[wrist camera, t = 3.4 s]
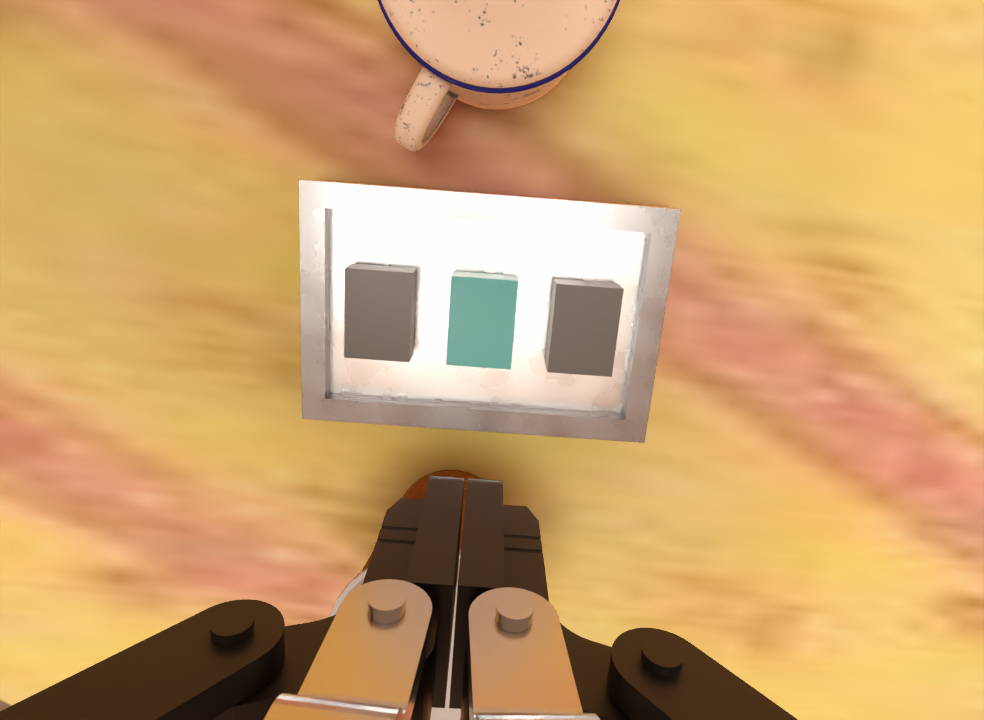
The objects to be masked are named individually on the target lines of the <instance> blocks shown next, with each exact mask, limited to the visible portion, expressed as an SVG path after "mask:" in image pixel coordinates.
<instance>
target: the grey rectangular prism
mask: <svg viewBox="0 0 984 720" xmlns="http://www.w3.org/2000/svg"><path fill="white" fill-rule="evenodd" d="M416 279H417V268H407V267H393V266H380V265H366V264H353V263H352V264H350V265H349V266H347V267H345V302H344V358H356V359H370V360H384V361H398V362H410V360H411V358H412V356H413V353H414V328H415V303H416Z"/></svg>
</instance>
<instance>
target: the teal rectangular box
mask: <svg viewBox="0 0 984 720" xmlns="http://www.w3.org/2000/svg"><path fill="white" fill-rule="evenodd" d="M518 283H519V280H518V276H513V275H500V274H487V273H473V272H460V271H453V273H452V275H451V285H450V303H449V321H448V339H447V357H446V365H453V366H467V367H481V368H495V369H509V370H511V363H512V352H513V340H514V329H515V317H516V306H517V295H518Z"/></svg>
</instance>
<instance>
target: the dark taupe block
mask: <svg viewBox="0 0 984 720" xmlns="http://www.w3.org/2000/svg"><path fill="white" fill-rule="evenodd" d="M623 292H624V288H622V287H621V286H620V285H619V284H618V283H607V282H593V281H580V280H567V279H553V288H552V298H551V307H550V317H549V327H548V337H547V346H546V356H545V366H546V369H547V372H550V373H564V374H578V375H592V376H606V377H612V372H613V365H614V358H615V350H616V343H617V336H618V328H619V321H620V314H621V306H622V299H623Z"/></svg>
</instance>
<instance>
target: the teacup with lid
mask: <svg viewBox="0 0 984 720" xmlns="http://www.w3.org/2000/svg"><path fill="white" fill-rule="evenodd" d="M619 1H620V0H378V2H379V5H380V7H381V10H382V12H383V14H384V16H385V18H386V20H387V22H388V24H389V26H390V27H391V29H392V31H393V32H394V34H395V36H396V37H397V38H398V40H399V41H400V42H401V44H402V45H403V46H404V48H405V49H406V50H407V51H408V52H409V53H410V54H411V55H412V56H413V57H414V58H415V59H416V60H417V61H418V62H419V63H420V64H421V65H422V66H423V68H422V70H421V71H420V73H419V75H418V77H417V79H416V80H415V82H414V84H413V86H412V88H411V89H410V91H409V93H408V95H407V97H406V99H405V101H404V103H403V105H402V107H401V110H400V112H399V114H398V117H397V120H396V123H395V126H394V138H395V140H396V142H397V143H398V144H399V145H401V146H402V147H404V148H405V149H407V150H409V151H412V152H416V151H418V150H420V149H422V148H423V147H424V146H425V145H426V144H427V143H428V142H429V141H430V140H431V138H432V137H433V136H434V134H435V133H436V132H437V130H438V129H439V127H440V126H441V124H442V123H443V121H444V119H445V118H446V116H447V115H448V113H449V111H450V110H451V108H452V106H453V105H454V103H455V101H456V99H457V100H460V101H462V102H464V103H466V104H469V105H471V106H475V107H479V108H483V109H491V110H502V109H511V108H516V107H520V106H523V105H526V104H529V103H531V102H533V101H535V100H537V99H539V98H541V97H542V96H544V95H545V94H547V93H548V92H549V91H551V90H552V89H553V88H554V87H555V86H556V85H557V84H558V83H559V82H560V81H561V80H562V79H563V78H564V77H565V76H566V74H567V73H568V72H569V70H570V69H571V68H572V67H573V66H575V65H576V64H577V63H578V62H579V61H581V60H582V59H583V58H584V57H585V56H586V55H587V54H588V53H589V51H590V50H591V49H592V48H593V47H594V45H595V44H596V43H597V42H598V40H599V39H600V38H601V36H602V35H603V33H604V32H605V30H606V28H607V27H608V25H609V23H610V21H611V20H612V18H613V16H614V13H615V11H616V9H617V7H618V4H619Z"/></svg>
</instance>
